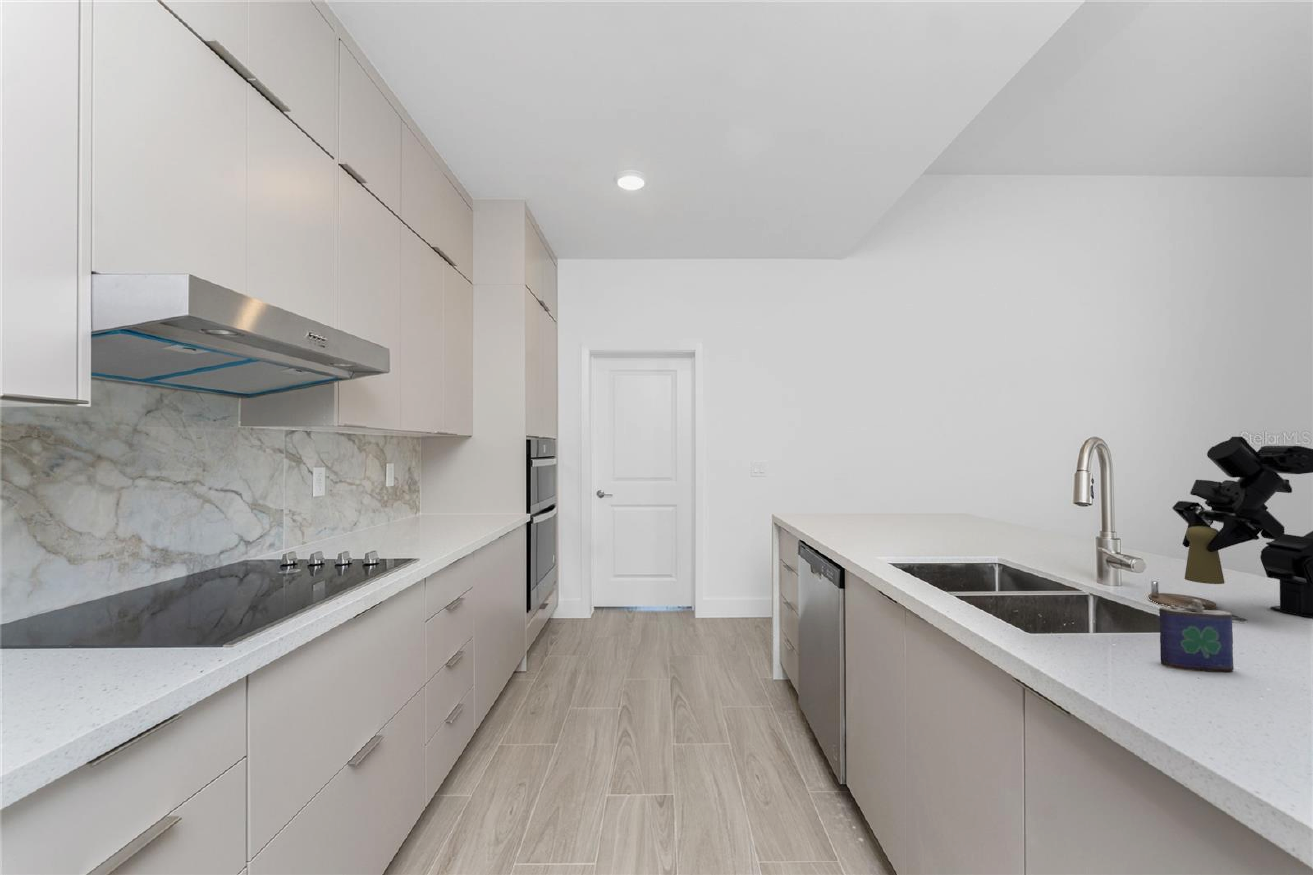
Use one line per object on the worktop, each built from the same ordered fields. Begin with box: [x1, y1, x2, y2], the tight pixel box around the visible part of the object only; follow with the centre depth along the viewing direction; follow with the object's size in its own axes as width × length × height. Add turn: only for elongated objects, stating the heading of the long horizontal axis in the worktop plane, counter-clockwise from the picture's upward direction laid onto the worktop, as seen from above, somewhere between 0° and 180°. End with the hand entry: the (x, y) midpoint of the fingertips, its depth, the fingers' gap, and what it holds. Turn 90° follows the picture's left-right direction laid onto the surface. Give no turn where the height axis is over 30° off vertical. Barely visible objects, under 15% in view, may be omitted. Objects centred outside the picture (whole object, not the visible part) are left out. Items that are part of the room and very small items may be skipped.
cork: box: [1184, 526, 1226, 585], centre depth 119 cm, size 6×6×11 cm
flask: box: [1158, 599, 1235, 673], centre depth 91 cm, size 9×3×11 cm, turn 74°
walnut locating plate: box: [1147, 580, 1218, 610], centre depth 126 cm, size 11×11×4 cm
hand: (1196, 548), depth 119 cm, fingers closed on cork, 5 cm apart
